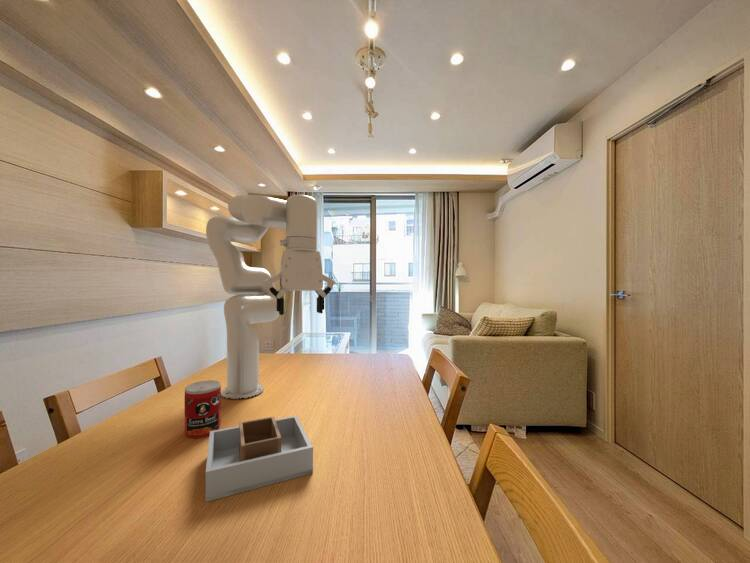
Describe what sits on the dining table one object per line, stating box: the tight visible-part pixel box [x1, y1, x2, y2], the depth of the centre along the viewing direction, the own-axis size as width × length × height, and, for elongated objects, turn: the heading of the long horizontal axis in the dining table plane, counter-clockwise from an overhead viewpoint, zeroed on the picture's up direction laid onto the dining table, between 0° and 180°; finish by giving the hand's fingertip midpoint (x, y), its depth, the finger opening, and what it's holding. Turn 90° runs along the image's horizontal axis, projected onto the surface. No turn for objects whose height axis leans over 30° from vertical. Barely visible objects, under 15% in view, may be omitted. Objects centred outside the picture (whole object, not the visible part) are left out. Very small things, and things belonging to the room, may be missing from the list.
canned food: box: [184, 379, 222, 439], centre depth 75 cm, size 8×8×11 cm
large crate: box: [205, 415, 314, 503], centre depth 62 cm, size 15×18×5 cm
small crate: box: [238, 416, 281, 461], centre depth 62 cm, size 10×7×6 cm
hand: (300, 313), depth 78 cm, fingers open, 9 cm apart
